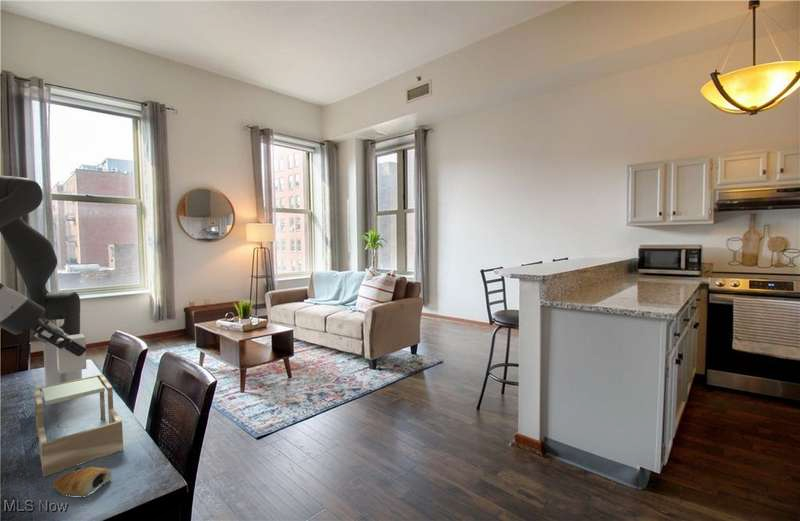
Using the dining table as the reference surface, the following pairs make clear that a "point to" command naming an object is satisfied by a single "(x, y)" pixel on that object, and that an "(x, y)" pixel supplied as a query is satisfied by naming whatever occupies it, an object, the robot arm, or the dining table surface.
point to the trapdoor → (72, 390)
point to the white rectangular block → (71, 356)
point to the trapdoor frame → (79, 436)
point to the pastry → (82, 481)
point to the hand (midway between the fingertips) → (81, 350)
